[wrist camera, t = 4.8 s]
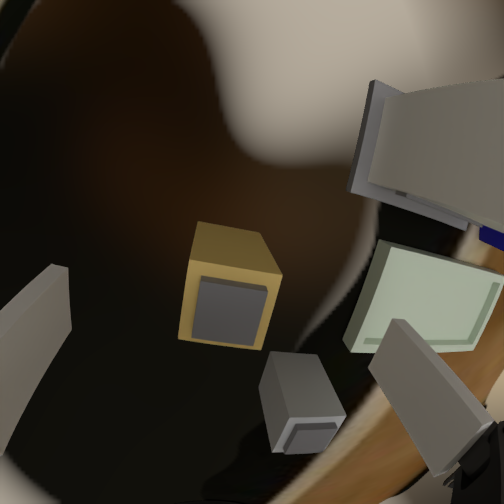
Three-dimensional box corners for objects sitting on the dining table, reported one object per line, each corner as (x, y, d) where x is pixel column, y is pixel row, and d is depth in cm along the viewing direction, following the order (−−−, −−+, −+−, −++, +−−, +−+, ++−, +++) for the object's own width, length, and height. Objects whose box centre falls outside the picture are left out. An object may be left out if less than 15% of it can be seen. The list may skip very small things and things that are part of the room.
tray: (463, 342, 26) (473, 350, 25) (342, 339, 23) (350, 352, 22) (495, 270, 24) (506, 277, 22) (378, 239, 21) (391, 246, 19)
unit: (459, 228, 21) (592, 297, 8) (345, 190, 19) (529, 270, 6) (479, 142, 19) (618, 168, 6) (369, 81, 17) (551, 37, 3)
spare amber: (246, 288, 21) (262, 357, 14) (187, 279, 20) (176, 346, 13) (259, 232, 20) (285, 280, 12) (198, 221, 19) (188, 264, 12)
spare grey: (302, 389, 25) (326, 455, 18) (258, 387, 24) (273, 458, 17) (316, 354, 24) (349, 422, 16) (270, 351, 23) (291, 424, 16)
